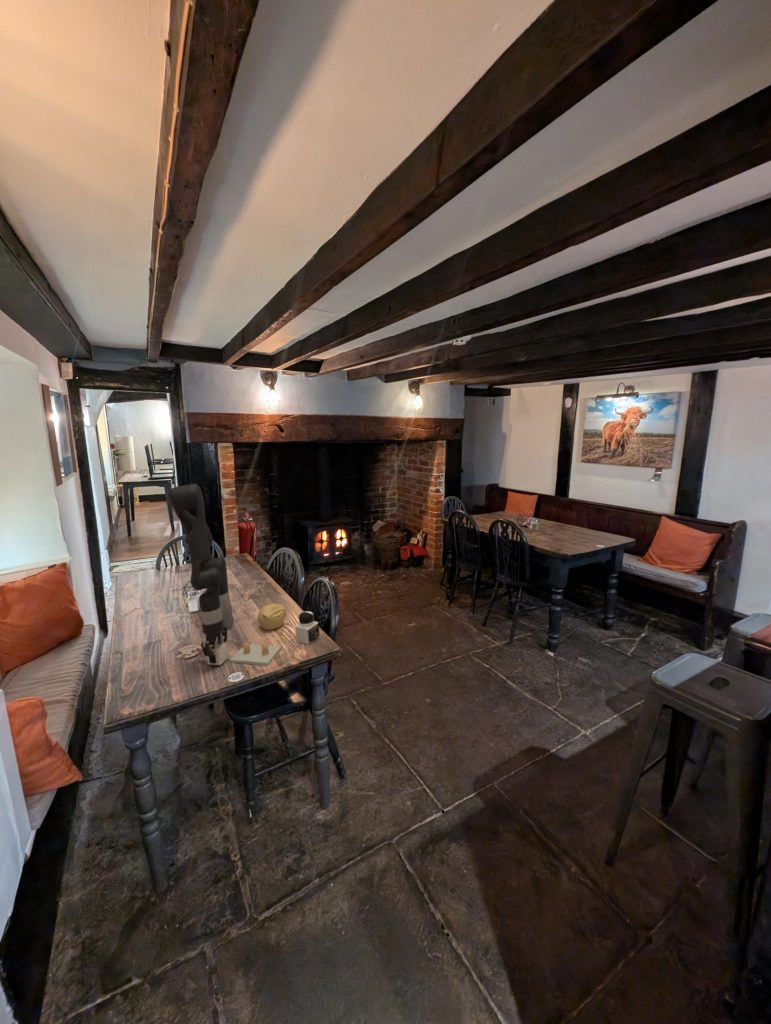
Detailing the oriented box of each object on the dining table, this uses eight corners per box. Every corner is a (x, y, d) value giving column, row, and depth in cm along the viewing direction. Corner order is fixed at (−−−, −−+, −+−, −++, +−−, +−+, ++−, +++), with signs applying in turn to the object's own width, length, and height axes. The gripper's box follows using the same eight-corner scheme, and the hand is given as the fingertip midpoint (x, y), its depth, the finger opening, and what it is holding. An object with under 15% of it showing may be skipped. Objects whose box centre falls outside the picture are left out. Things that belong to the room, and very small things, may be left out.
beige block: (215, 656, 166) (213, 642, 165) (228, 657, 165) (226, 643, 164) (207, 664, 161) (205, 650, 159) (220, 665, 160) (218, 651, 158)
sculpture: (270, 635, 183) (268, 612, 180) (254, 628, 190) (251, 606, 188) (290, 624, 192) (288, 603, 189) (274, 618, 199) (272, 597, 196)
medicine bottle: (309, 645, 173) (307, 618, 171) (296, 641, 177) (293, 615, 174) (320, 637, 179) (317, 611, 177) (307, 633, 183) (304, 608, 180)
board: (246, 646, 174) (244, 635, 173) (281, 649, 171) (280, 637, 170) (230, 662, 163) (228, 650, 162) (268, 665, 159) (266, 653, 158)
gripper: (214, 610, 166) (219, 648, 170) (191, 627, 153) (197, 668, 156) (231, 610, 165) (236, 649, 169) (209, 628, 151) (215, 670, 155)
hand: (217, 658), depth 163 cm, fingers closed on beige block, 5 cm apart
